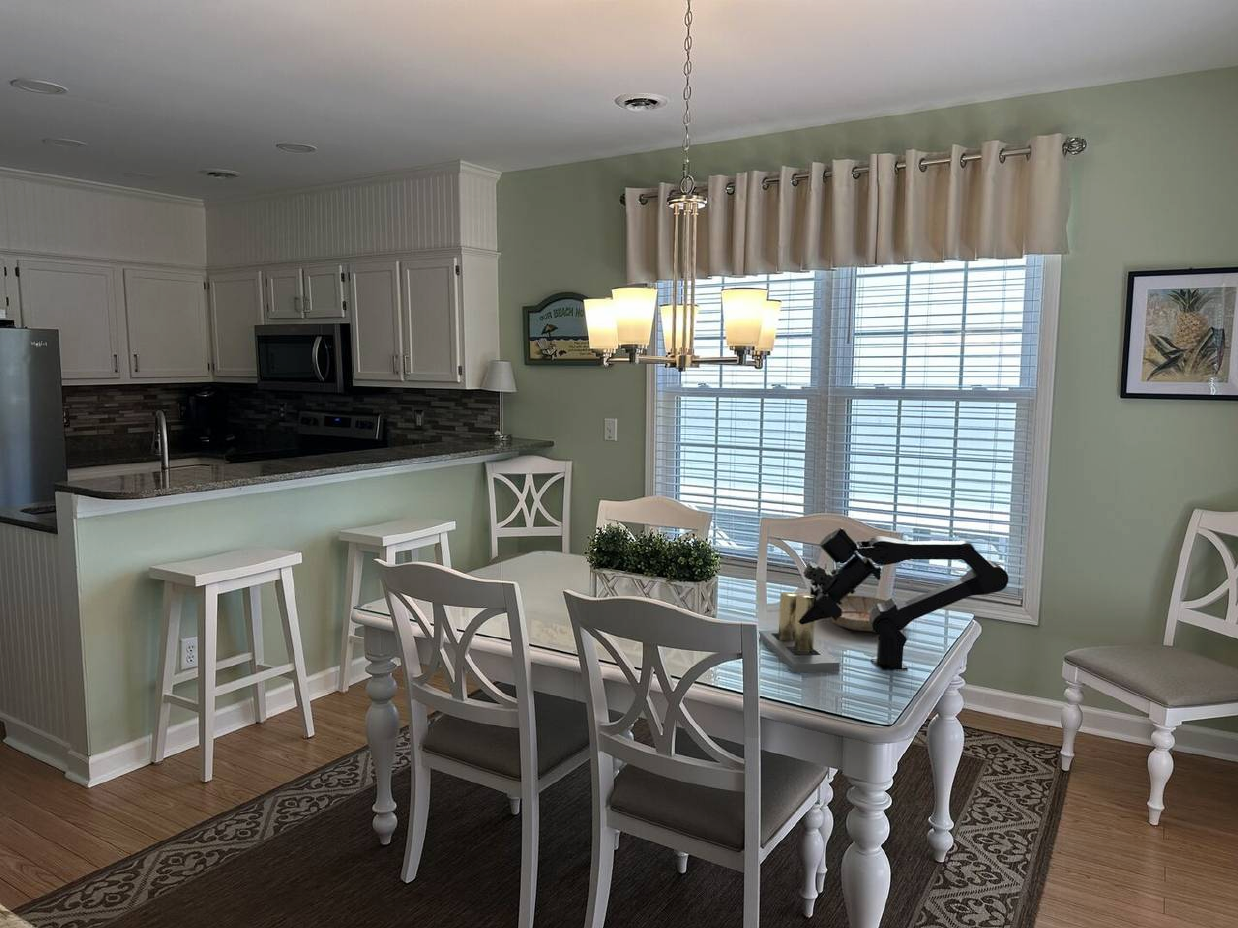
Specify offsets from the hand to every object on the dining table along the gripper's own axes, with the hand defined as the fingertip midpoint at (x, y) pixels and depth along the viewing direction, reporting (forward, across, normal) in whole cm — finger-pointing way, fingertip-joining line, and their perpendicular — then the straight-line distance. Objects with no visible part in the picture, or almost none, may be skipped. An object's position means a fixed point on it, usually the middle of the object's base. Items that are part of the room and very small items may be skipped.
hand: (799, 619), depth 204 cm
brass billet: (+4, 0, +6) cm, 7 cm away
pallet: (+7, -3, +7) cm, 10 cm away
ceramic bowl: (-6, -32, +21) cm, 38 cm away
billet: (+8, -10, +5) cm, 14 cm away
